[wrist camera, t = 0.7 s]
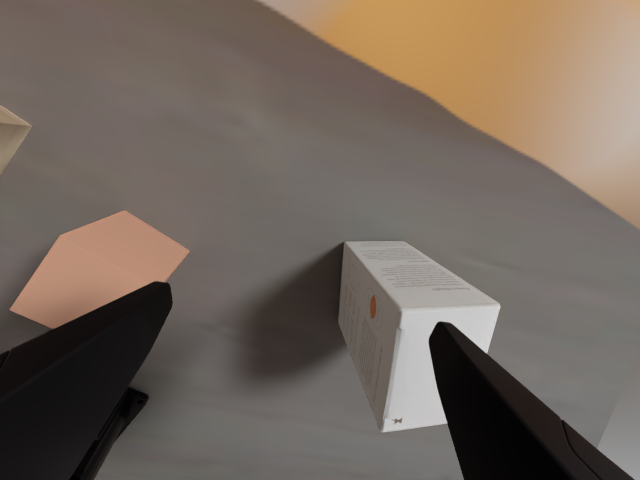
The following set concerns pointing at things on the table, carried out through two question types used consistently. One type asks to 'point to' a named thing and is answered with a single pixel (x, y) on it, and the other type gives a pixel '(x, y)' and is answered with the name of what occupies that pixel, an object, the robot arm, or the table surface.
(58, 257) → the terracotta block
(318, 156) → the table surface
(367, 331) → the small box
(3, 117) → the birch base block
